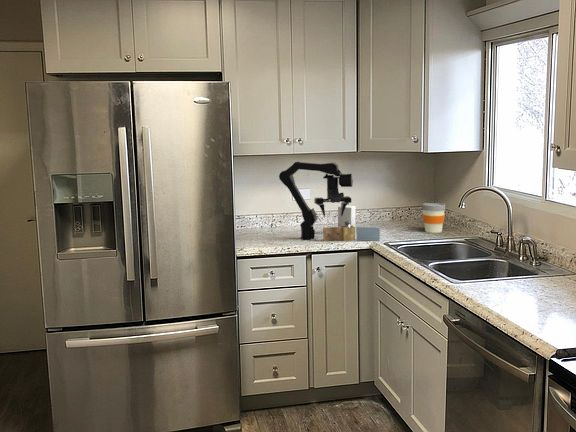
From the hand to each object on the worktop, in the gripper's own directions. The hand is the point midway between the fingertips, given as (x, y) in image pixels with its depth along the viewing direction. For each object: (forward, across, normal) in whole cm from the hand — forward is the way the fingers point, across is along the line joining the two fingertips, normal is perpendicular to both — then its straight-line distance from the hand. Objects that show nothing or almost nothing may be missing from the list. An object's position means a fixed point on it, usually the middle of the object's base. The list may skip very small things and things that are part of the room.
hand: (333, 216), depth 325 cm
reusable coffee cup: (+12, +58, +8) cm, 60 cm away
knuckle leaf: (+12, +2, -4) cm, 13 cm away
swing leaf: (+12, +17, -8) cm, 22 cm away
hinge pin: (+12, +7, -4) cm, 14 cm away
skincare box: (+12, +10, +12) cm, 20 cm away
